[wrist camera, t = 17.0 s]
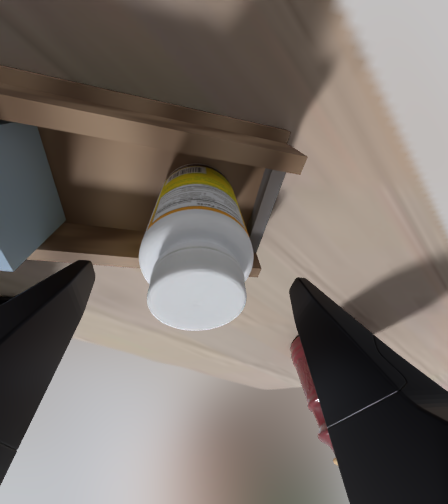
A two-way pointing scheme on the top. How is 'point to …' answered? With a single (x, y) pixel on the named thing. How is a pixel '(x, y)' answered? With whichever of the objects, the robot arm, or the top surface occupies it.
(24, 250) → the block
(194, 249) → the supplement bottle
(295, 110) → the top surface
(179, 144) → the wooden tray
